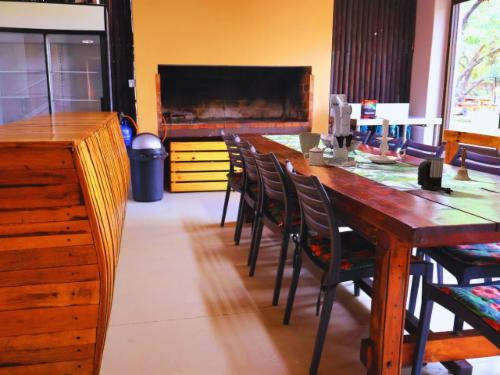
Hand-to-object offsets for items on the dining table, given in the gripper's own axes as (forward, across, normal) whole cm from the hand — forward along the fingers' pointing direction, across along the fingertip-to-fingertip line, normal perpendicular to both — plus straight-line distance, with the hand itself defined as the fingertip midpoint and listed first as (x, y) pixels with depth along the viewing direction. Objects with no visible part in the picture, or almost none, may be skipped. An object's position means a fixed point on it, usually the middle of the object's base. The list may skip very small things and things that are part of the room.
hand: (344, 147), depth 283 cm
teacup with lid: (+11, -16, +11) cm, 22 cm away
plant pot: (+10, +8, +34) cm, 37 cm away
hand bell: (+11, +4, -71) cm, 72 cm away
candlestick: (+11, +25, -15) cm, 31 cm away
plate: (+9, -3, 0) cm, 10 cm away
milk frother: (+12, -33, -74) cm, 82 cm away
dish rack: (+10, -3, 0) cm, 11 cm away
